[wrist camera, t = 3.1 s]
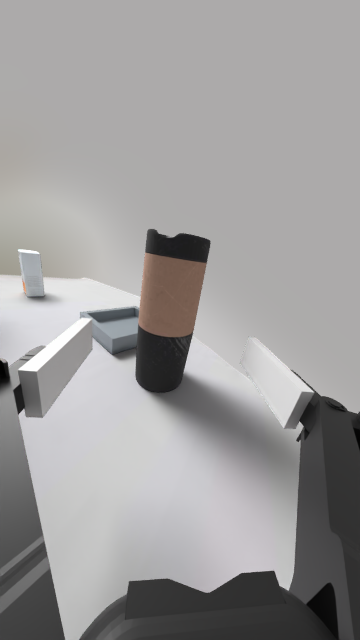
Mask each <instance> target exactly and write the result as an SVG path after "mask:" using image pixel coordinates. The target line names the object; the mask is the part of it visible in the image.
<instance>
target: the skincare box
mask: <svg viewBox="0 0 360 640" xmlns="http://www.w3.org/2000/svg"><path fill="white" fill-rule="evenodd" d="M18 253H19V260H20V267H21V274H22V281H23V288H24V292H25V293H26V295H27V297H32V296H45V294H44V285H43V276H42V266H41V257H40V254H39V253H38V252H36V251H28V250H18Z"/></svg>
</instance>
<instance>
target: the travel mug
mask: <svg viewBox="0 0 360 640" xmlns="http://www.w3.org/2000/svg"><path fill="white" fill-rule="evenodd" d="M209 248H210V240H208V239H205V238H202V237H199V236H194V235H189V234H184V233H180V234H178V235H176V236H175V237H170V236H166V235H162V234H158V232H157V230H155V229H149V230H148V231H147V240H146V251H145V260H144V270H143V280H142V291H141V300H140V310H139V319H138V335H137V353H136V380H137V382H138V383H139V384H140V385H141V386H142V387H143V388H145V389H147V390H150V391H153V392H168V391H171V390H173V389H175V388H176V387H178V386H179V384H180V382H181V380H182V376H183V372H184V368H185V364H186V360H187V355H188V351H189V347H190V343H191V339H192V335H193V330H194V325H195V320H196V315H197V310H198V305H199V300H200V294H201V289H202V284H203V279H204V274H205V268H206V264H207V263H206V262H207V258H208V253H209Z"/></svg>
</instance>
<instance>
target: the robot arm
mask: <svg viewBox="0 0 360 640" xmlns="http://www.w3.org/2000/svg"><path fill="white" fill-rule="evenodd" d="M91 351H92V319H90V318H81V319H80V320H78V321H77V322H76V323H75V324H73V325H72V326H71V327H70V328H68V329H67V330H66V331H65V332H64V333H62V334H61V335H60V336H59V337H57V338H56V339H55V340H54V341H53V342H51V343H50V344H49V345H48V346H39V347H37V348H34V349H32V350H31V351H29V352H28V353H27V354H25V356H23V357H21V358H20V359H19V360H17V361H16V362H14V363H13V364H12V365H10V366H9V367H8V363H7V361H6V360H5V359H2V358H0V640H65V637H64V632H63V628H62V623H61V618H60V613H59V608H58V604H57V599H56V594H55V589H54V584H53V580H52V575H51V570H50V565H49V560H48V556H47V551H46V547H45V542H44V537H43V533H42V528H41V523H40V518H39V513H38V508H37V504H36V499H35V494H34V489H33V484H32V480H31V475H30V470H29V465H28V460H27V455H26V451H25V446H24V441H23V436H22V431H21V426H20V422H19V417H18V414H19V413H20V412H21V411H22V410H23V409H25V415H26V417H37V418H43V417H44V416H45V414H46V413H47V411H48V410H49V409H50V407H51V406H52V405H53V403H54V402H55V400H56V399H57V398H58V396H59V395H60V393H61V392H62V391H63V389H64V388H65V387H66V385H67V384H68V382H69V381H70V380H71V378H72V377H73V376H74V374H75V373H76V371H77V370H78V369H79V367H80V366H81V364H82V363H83V362H84V360H85V359H86V358H87V356H88V355H89V353H90V352H91ZM240 364H241V366H242V367H243V369H244V370H245V372H246V373H247V375H248V376H249V378H250V379H251V381H252V382H253V384H254V385H255V387H256V388H257V390H258V391H259V392H260V394H261V395H262V397H263V398H264V400H265V401H266V403H267V404H268V406H269V407H270V409H271V410H272V412H273V413H274V415H275V416H276V418H277V419H278V421H279V422H280V424H281V425H282V426H283V428H287V429H296V427H297V425H298V423H299V421H300V422H301V423H302V425H303V426H304V427H303V429H302V431H301V433H300V435H299V437H298V438H297V440H296V441H298V442H299V440H301V449H300V469H299V489H298V508H297V528H296V548H295V567H294V575H293V579H292V582H291V586H290V589H289V591H288V590H286V589H284V588H282V587H280V586H279V583H278V580H277V578H276V575H275V572H274V571H264V572H251V573H241V574H239V575H238V576H236V577H235V578H233V579H231V580H230V581H228V582H227V583H225V584H223V585H222V586H220V587H218V588H217V589H215V590H214V591H212V592H210V593H204V592H202V591H199V590H196V589H194V588H191V587H188V586H186V585H183V584H181V583H178V582H175V581H173V580H170V579H155V580H142V581H129V585H128V592H127V595H125V596H123V597H121V598H119V599H118V600H116V601H115V602H114V603H112V604H111V605H110V606H108V607H107V608H106V609H105V610H104V611H103V612H102V613H101V614H100V615H99V616H98V617H97V618H96V619H95V620H94V621H93V622H92V624H91V625H90V626H89V627H88V628H87V630H86V631H85V632H84V633H83V635H82V636H81V638H80V639H79V640H360V412H359V413H358V414H356V413H353V412H349V411H347V409H346V408H345V407H344V406H343V405H342V404H340V403H339V402H337V401H336V400H333V399H331V398H329V397H325V396H322V397H321V396H320V395H319V394H318V393H317V392H316V391H315V390H314V389H313V388H312V387H311V386H309V385H308V384H307V383H306V382H305V381H304V380H303V379H301V377H300V376H299V375H298V374H296V373H295V372H293V371H292V370H290V369H289V368H288V367H287V366H286V365H285V364H284V363H283V362H282V361H280V360H279V359H278V358H277V357H276V356H275V355H274V354H273V353H272V352H271V351H270V350H269V349H268V348H267V347H266V346H264V345H263V344H262V343H261V342H260V341H259V340H258V339H257V338H254V337H248V339H247V343H246V346H245V349H244V352H243V355H242V358H241V361H240Z"/></svg>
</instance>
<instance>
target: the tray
mask: <svg viewBox="0 0 360 640" xmlns="http://www.w3.org/2000/svg"><path fill="white" fill-rule="evenodd" d="M139 310H140V308H138V307H136V306H133V307H124V308H114V309H105V310H96V311H87V312H80V319H81V318H90V319H92V337H94V338H95V339H96V340H97V341H98V342H99V343H100V344H101V345H102V346H103V347H104V348H105V349H106V350H107V351H109V352H110V353H111V354H115V353H119V352H122V351H125V350H129V349H132V348H135V347H137V335H138V319H139Z"/></svg>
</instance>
